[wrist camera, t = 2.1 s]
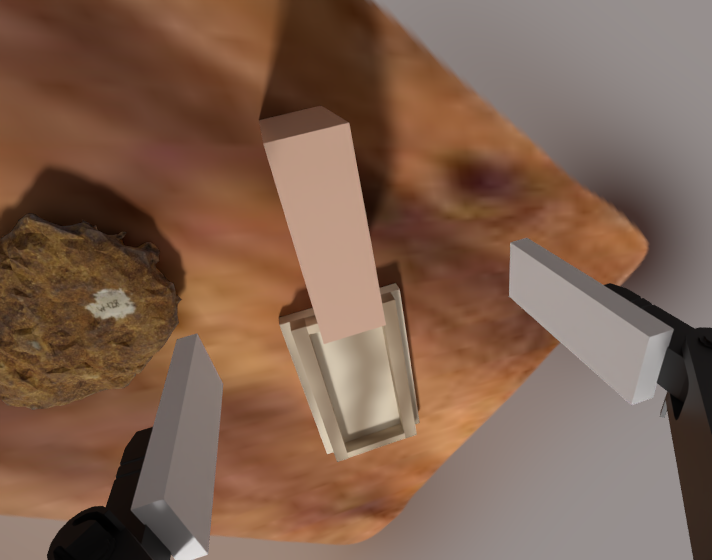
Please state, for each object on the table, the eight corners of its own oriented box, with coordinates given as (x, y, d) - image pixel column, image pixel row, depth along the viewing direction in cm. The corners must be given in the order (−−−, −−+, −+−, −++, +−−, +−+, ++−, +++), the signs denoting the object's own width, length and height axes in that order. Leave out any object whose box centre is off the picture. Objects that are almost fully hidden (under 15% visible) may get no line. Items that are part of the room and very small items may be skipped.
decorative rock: (116, 403, 32) (208, 262, 29) (104, 443, 29) (206, 289, 25) (-63, 359, 26) (25, 175, 23) (-105, 404, 23) (-8, 195, 19)
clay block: (258, 120, 24) (263, 143, 17) (320, 105, 24) (349, 122, 18) (306, 280, 30) (323, 344, 24) (355, 266, 31) (386, 325, 24)
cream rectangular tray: (325, 446, 40) (329, 464, 38) (278, 317, 31) (280, 334, 29) (416, 415, 41) (423, 432, 39) (395, 283, 32) (404, 296, 30)
